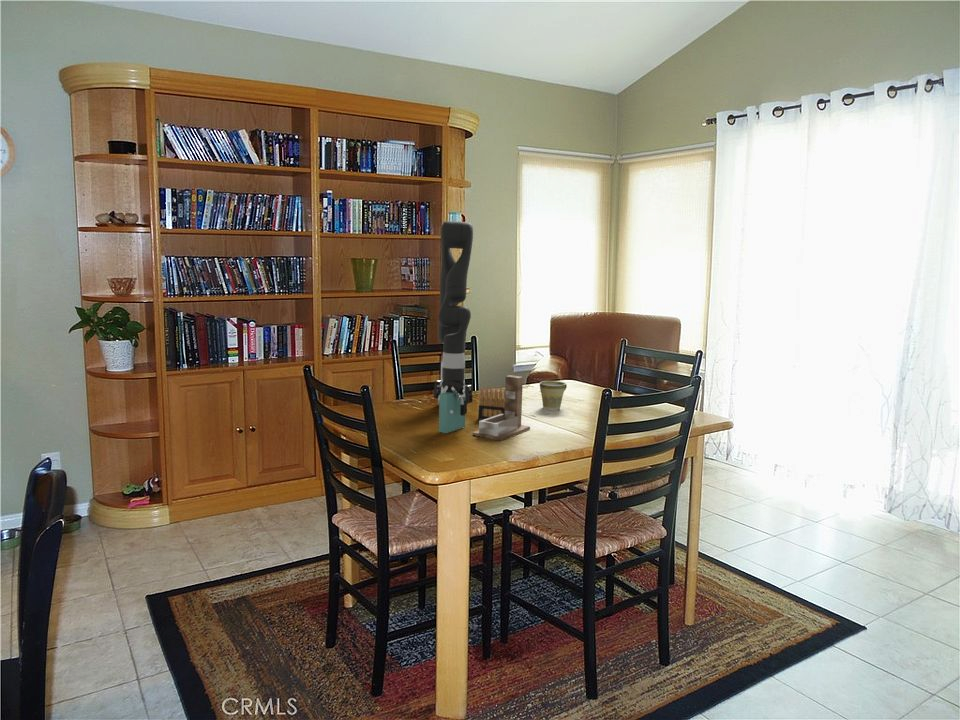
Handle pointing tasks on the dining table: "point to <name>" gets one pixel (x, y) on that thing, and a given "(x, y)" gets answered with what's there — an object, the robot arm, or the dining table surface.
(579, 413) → the dining table surface
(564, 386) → the ceramic cup
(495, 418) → the hinge frame
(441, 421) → the teal door
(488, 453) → the dining table surface
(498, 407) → the ammunition clip
